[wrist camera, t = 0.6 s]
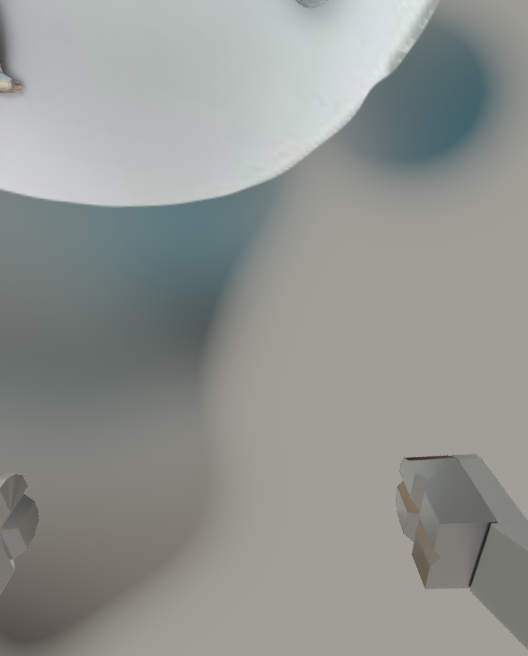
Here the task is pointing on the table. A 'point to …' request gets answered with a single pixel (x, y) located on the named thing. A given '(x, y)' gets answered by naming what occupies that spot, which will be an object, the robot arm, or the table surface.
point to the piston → (311, 3)
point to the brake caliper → (8, 83)
